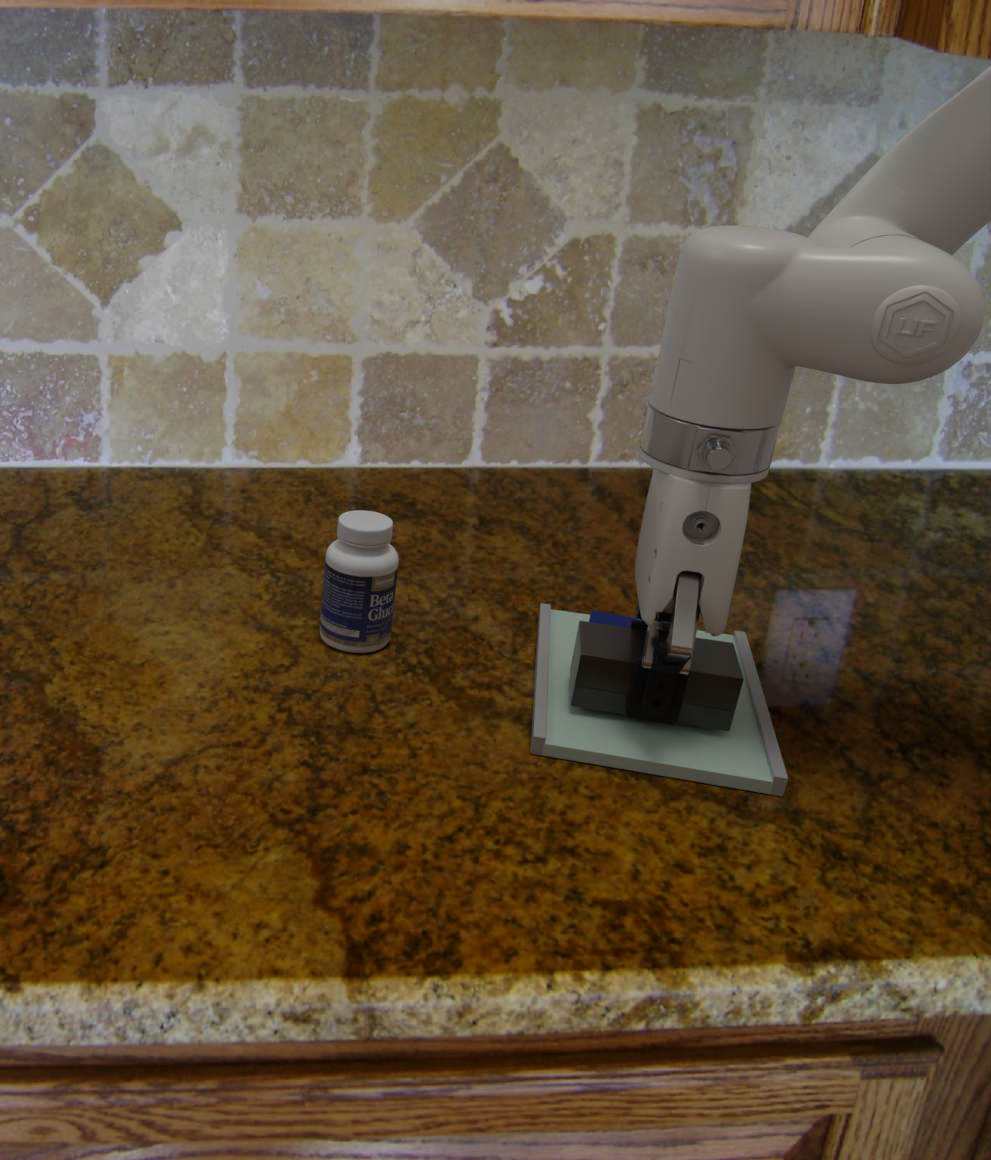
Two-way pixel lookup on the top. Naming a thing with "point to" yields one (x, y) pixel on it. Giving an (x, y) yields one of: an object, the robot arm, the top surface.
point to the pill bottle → (359, 583)
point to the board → (651, 723)
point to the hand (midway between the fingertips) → (648, 694)
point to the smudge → (611, 619)
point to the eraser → (614, 651)
